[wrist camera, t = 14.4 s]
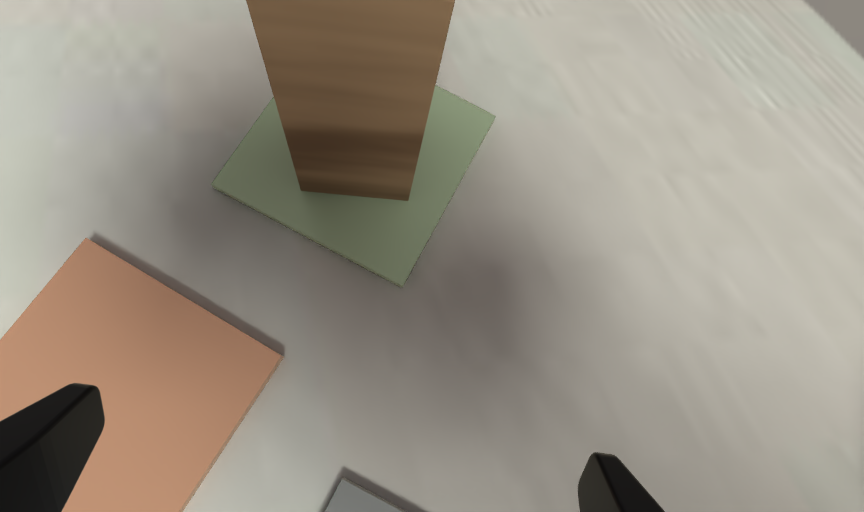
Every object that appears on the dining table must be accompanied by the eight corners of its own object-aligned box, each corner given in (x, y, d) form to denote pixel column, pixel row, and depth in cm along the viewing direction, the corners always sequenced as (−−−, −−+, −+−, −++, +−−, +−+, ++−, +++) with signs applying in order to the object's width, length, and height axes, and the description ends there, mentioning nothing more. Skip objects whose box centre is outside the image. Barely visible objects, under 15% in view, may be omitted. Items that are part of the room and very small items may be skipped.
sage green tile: (490, 128, 28) (495, 116, 27) (401, 291, 25) (402, 285, 24) (325, 43, 28) (322, 27, 27) (218, 194, 25) (211, 184, 24)
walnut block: (408, 200, 25) (454, 1, 13) (300, 190, 24) (237, -28, 12) (414, 107, 26) (461, -155, 14) (312, 96, 26) (267, -189, 13)
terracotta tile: (286, 358, 23) (281, 355, 22) (140, 581, 21) (126, 591, 20) (99, 245, 24) (86, 237, 23) (-68, 448, 21) (-94, 451, 20)
